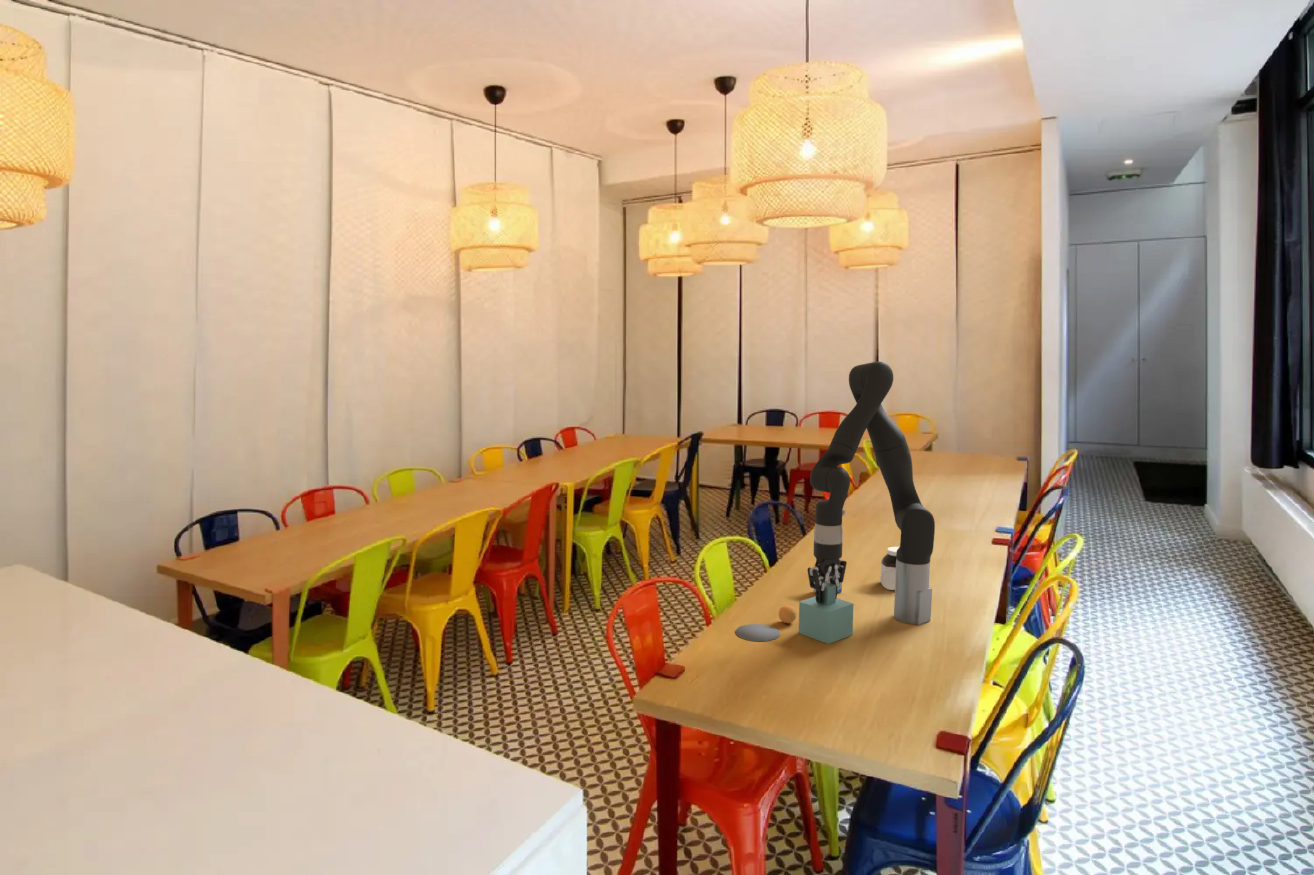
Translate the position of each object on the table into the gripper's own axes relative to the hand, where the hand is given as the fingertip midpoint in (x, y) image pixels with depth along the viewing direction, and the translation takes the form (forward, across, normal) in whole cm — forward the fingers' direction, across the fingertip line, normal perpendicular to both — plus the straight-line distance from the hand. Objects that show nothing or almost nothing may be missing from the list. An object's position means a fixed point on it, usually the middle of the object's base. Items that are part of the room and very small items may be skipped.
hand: (826, 600), depth 212 cm
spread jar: (+10, +50, +12) cm, 52 cm away
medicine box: (+10, +28, +22) cm, 37 cm away
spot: (+9, -14, +12) cm, 21 cm away
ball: (+7, -2, +12) cm, 14 cm away
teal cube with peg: (+9, 0, 0) cm, 9 cm away
